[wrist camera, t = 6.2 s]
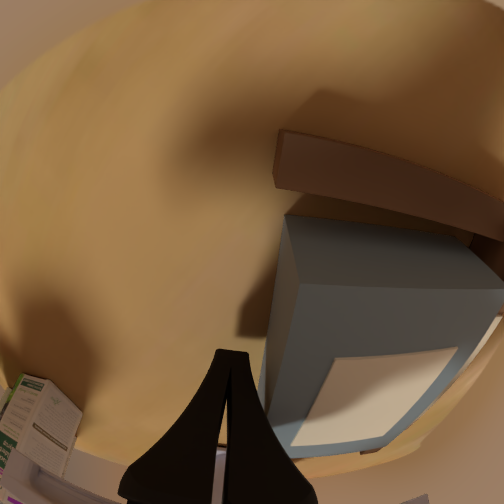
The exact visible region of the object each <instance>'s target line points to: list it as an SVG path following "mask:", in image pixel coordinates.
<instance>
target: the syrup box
mask: <svg viewBox="0 0 504 504" xmlns="http://www.w3.org/2000/svg"><path fill="white" fill-rule="evenodd" d="M82 415H83V413H82V412H81V411H80V410H79V409H78V408H77V407H76V405H75V404H74V403H73V402H72V401H71V400H70V399H69V398H68V397H67V396H66V395H65V394H64V393H63V392H62V391H60V390H59V388H58V387H57V386H56V385H55V384H54V383H52V381H51V380H49V379H46V380H44V379H40V378H37V377H33V376H29V375H26V374H24V373H21V374H20V376H19V378H18V380H17V382H16V383H15V385H14V387H13V389H12V391H11V393H10V394H9V396H8V398H7V400H6V402H5V404H4V406H3V408H2V411H1V413H0V480H1V477H2V474H3V471H4V468H5V466H6V463H7V460H8V457H9V455H10V452H11V450H12V448H15V449H16V450H18V451H19V452H20V453H22V454H23V455H25V456H26V457H28V458H29V459H31V460H33V461H34V462H36V463H37V464H39V465H40V466H41V467H43V468H44V469H46V470H48V471H49V472H51V473H53V474H55V475H57V476H58V477H60V478H61V476H62V473H63V470H64V467H65V463H66V460H67V457H68V454H69V451H70V448H71V445H72V442H73V440H74V437H75V434H76V431H77V428H78V426H79V423H80V421H81V418H82ZM0 500H1V502H3V503H4V504H24V503H22V502H21V501H20V500H19V499H17V498H16V497H15V496H13V495H12V494H11V493H9V492H8V491H7V490H6V489H4V488H3V487H2V486H1V485H0Z"/></svg>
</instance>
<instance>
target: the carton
mask: <svg viewBox="0 0 504 504" xmlns="http://www.w3.org/2000/svg"><path fill="white" fill-rule="evenodd" d="M503 303H504V282H503V281H502V280H501V279H500V278H499V277H498V276H497V275H496V274H495V273H494V272H493V271H492V270H491V269H490V268H489V267H488V266H487V265H486V264H485V263H484V262H483V261H482V260H481V259H480V258H479V257H478V256H476V255H475V254H474V253H473V252H472V251H471V250H470V249H469V248H467V247H466V246H465V245H464V244H463V243H462V242H461V241H459V240H458V239H457V238H456V237H454V236H448V235H442V234H436V233H430V232H423V231H417V230H410V229H403V228H396V227H389V226H382V225H374V224H366V223H358V222H350V221H341V220H333V219H323V218H314V217H304V216H294V215H284V220H283V228H282V236H281V243H280V250H279V258H278V265H277V272H276V279H275V286H274V292H273V299H272V306H271V312H270V318H269V325H268V331H267V337H266V343H265V350H264V356H263V361H262V367H261V373H260V379H259V385H258V390H257V393H258V396H259V399H260V402H261V405H262V407H263V409H264V412H265V414H266V417H267V419H268V421H269V423H270V425H271V427H272V429H273V431H274V433H275V435H276V436H277V438H278V440H279V442H280V443H281V445H282V447H283V448H284V450H285V451H286V453H287V454H288V456H289V457H290V458H307V457H320V456H330V455H339V454H346V453H353V452H359V451H365V450H370V449H375V448H380V447H385V446H387V445H388V444H389V443H390V442H391V441H392V440H394V439H395V438H396V437H397V436H398V435H399V434H400V433H402V432H403V431H404V430H405V429H406V428H407V427H408V426H409V425H410V424H411V423H412V422H413V421H414V420H415V419H416V418H418V417H419V416H420V415H421V414H422V413H423V411H424V410H425V409H426V408H427V407H428V406H429V405H430V404H431V403H432V402H433V401H434V400H435V399H436V398H437V397H438V395H439V394H440V393H441V392H442V391H443V390H444V389H445V387H446V386H447V385H448V384H449V383H450V382H451V380H452V379H453V378H454V377H455V375H456V374H457V373H458V372H459V370H460V369H461V368H462V366H463V365H464V364H465V363H466V361H467V360H468V358H469V357H470V356H471V354H472V353H473V351H474V350H475V349H476V347H477V346H478V344H479V343H480V341H481V340H482V338H483V337H484V335H485V334H486V332H487V330H488V329H489V327H490V326H491V324H492V322H493V321H494V319H495V317H496V315H497V314H498V312H499V310H500V308H501V307H502V305H503Z"/></svg>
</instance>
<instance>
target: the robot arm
mask: <svg viewBox="0 0 504 504" xmlns="http://www.w3.org/2000/svg"><path fill="white" fill-rule="evenodd" d="M226 400H227V448H222V447H217V444H218V438H219V433H220V429H221V424H222V419H223V414H224V410H225V405H226ZM0 485H1V486H2V487H3V488H4V489H6V490H7V491H8V492H9V493H11V494H12V495H13V496H15V497H16V498H17V499H19V500H20V501H21V502H22V503H24V504H120V503H118V502H115V501H112V500H109V499H107V498H104V497H102V496H99V495H97V494H94V493H92V492H90V491H87V490H85V489H83V488H81V487H78V486H76V485H74V484H72V483H70V482H68V481H66V480H64V479H62V478H60V477H58V476H57V475H55V474H53V473H51V472H49V471H48V470H46V469H44V468H43V467H41V466H40V465H39V464H37V463H36V462H34V461H33V460H31V459H29V458H28V457H26V456H25V455H23V454H22V453H20V452H19V451H18V450H16V449H15V448H12V450H11V452H10V455H9V457H8V460H7V463H6V466H5V468H4V471H3V474H2V477H1V480H0ZM118 495H119V496H121V497H123V498H125V499H127V500H128V501H127V504H318V500H317V496H316V494H315V491H314V489H313V486H312V485H311V484H310V483H309V482H308V481H307V479H306V478H305V477H304V476H303V475H302V473H301V472H300V471H299V470H298V468H297V467H296V466H295V464H294V463H293V462H292V460H291V459H290V457H289V456H288V454H287V453H286V451H285V450H284V448H283V447H282V445H281V443H280V442H279V440H278V438H277V436H276V435H275V433H274V431H273V429H272V427H271V425H270V423H269V421H268V419H267V417H266V414H265V412H264V409H263V407H262V405H261V402H260V399H259V396H258V393H257V390H256V387H255V384H254V380H253V376H252V372H251V367H250V361H249V354H248V353H247V352H242V351H233V350H225V349H217V350H216V352H215V355H214V358H213V361H212V363H211V366H210V368H209V370H208V372H207V374H206V376H205V378H204V380H203V382H202V384H201V385H200V387H199V389H198V391H197V392H196V394H195V395H194V397H193V398H192V400H191V402H190V403H189V405H188V406H187V407H186V409H185V410H184V412H183V413H182V414H181V416H180V417H179V418H178V419H177V421H176V422H175V423H174V424H173V425H172V427H171V428H170V429H169V430H168V431H167V432H166V433H165V434H164V435H163V437H162V438H161V439H160V440H159V441H158V442H156V443H155V444H154V445H153V446H152V447H151V448H150V449H149V450H148V451H147V452H146V453H145V454H144V455H142V456H141V457H140V458H139V459H137V460H136V461H135V462H134V463H132V464H131V465H130V466H129V467H128V469H127V471H126V472H125V473H124V475H123V477H122V479H121V481H120V485H119V489H118ZM401 504H429V500H428V495H427V494H424V495H422V496H419V497H417V498H414V499H411V500H409V501H406V502H403V503H401Z"/></svg>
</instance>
